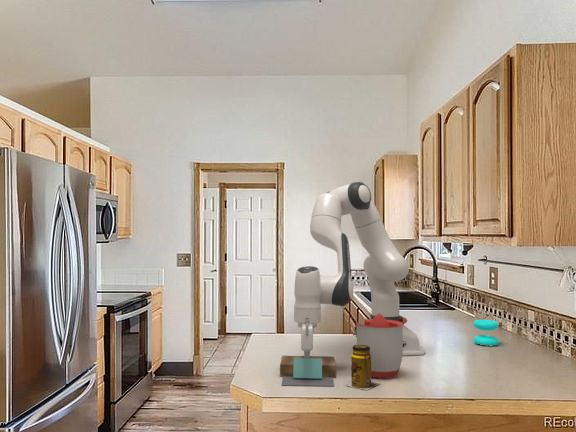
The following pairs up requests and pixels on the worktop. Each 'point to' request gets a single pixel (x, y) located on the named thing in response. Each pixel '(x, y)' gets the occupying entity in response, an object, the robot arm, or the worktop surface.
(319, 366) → the block
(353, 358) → the condiment
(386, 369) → the citrus juicer
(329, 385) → the mat
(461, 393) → the worktop surface
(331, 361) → the board
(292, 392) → the worktop surface
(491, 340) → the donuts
